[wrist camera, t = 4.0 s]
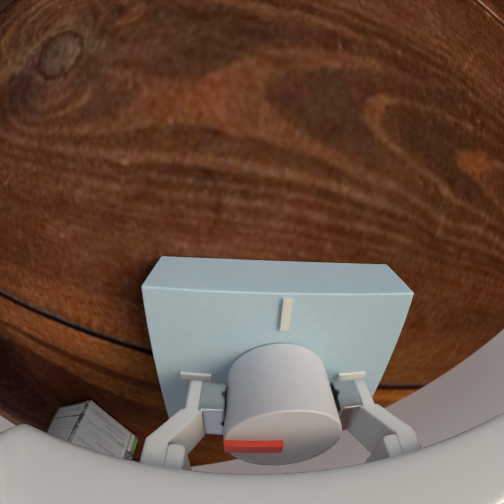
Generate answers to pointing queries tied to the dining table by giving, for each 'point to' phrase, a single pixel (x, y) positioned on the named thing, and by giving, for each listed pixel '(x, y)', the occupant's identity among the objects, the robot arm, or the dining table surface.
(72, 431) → the syrup box
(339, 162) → the dining table surface
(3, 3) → the tissue box cover
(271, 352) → the dial
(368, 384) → the panel
